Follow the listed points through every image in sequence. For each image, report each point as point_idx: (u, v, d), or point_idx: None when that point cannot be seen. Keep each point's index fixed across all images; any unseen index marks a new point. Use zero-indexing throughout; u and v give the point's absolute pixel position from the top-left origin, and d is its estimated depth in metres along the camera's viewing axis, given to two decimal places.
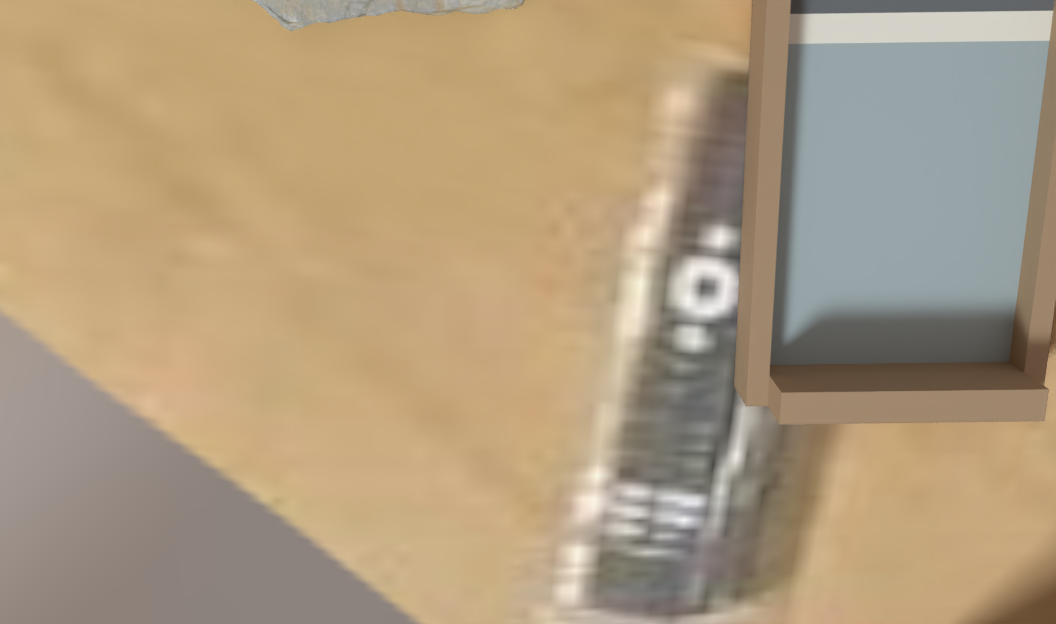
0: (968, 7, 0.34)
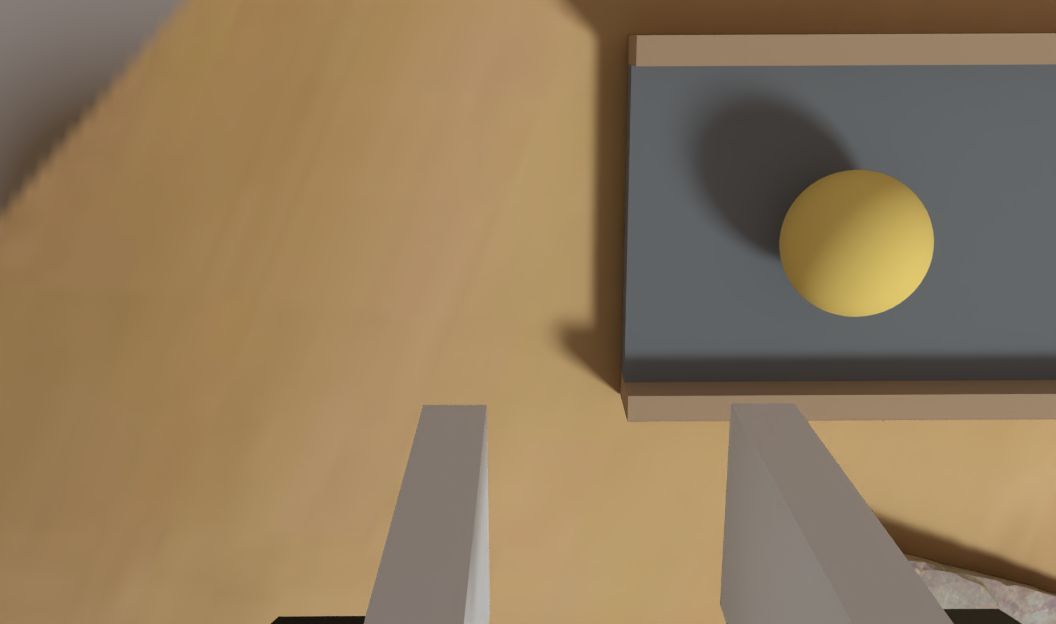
0: None
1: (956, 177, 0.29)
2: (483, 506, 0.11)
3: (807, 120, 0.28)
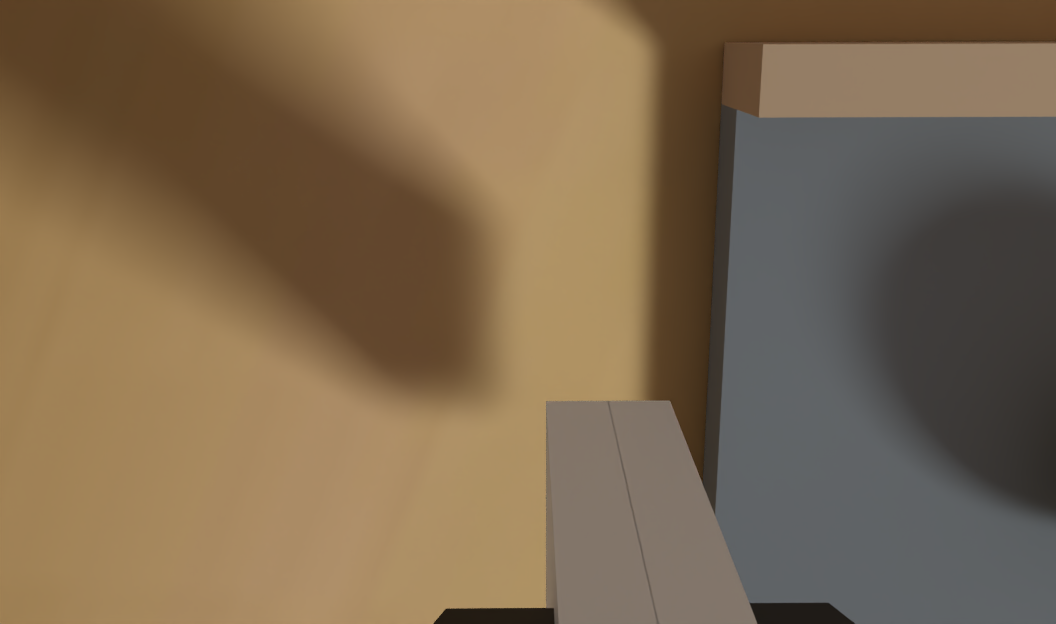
0: None
1: None
2: None
3: None
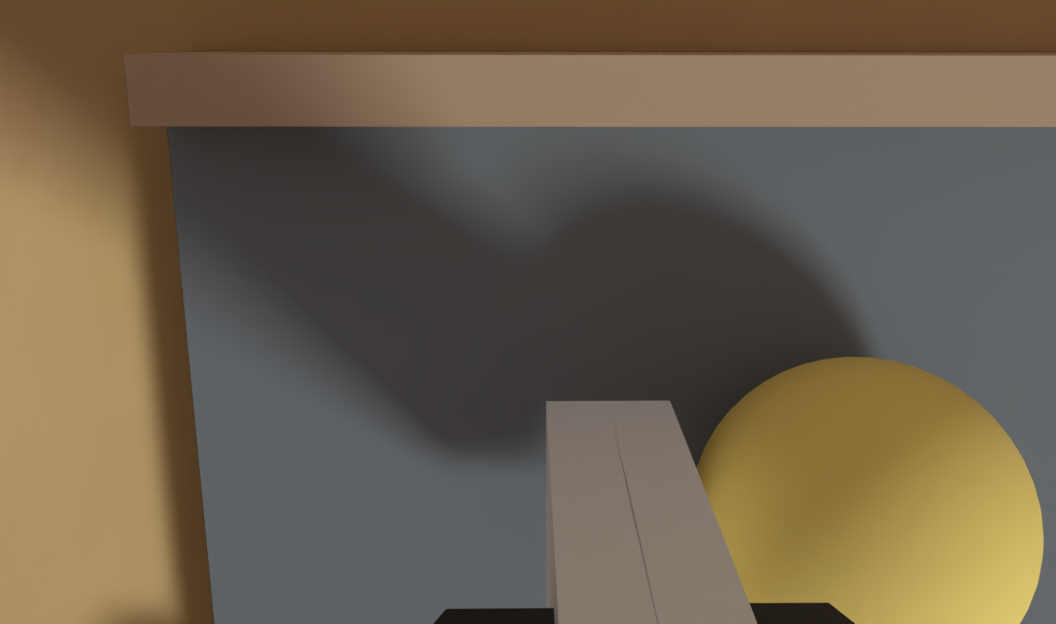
0: None
1: (884, 356, 0.14)
2: None
3: (561, 238, 0.13)
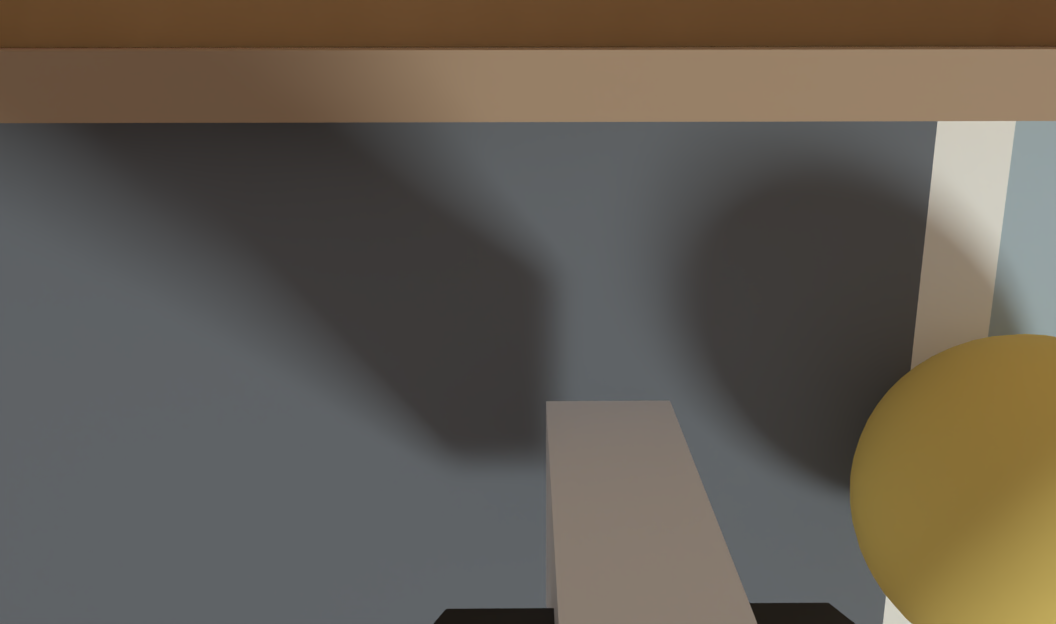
0: (903, 334, 0.13)
1: (280, 355, 0.13)
2: None
3: None
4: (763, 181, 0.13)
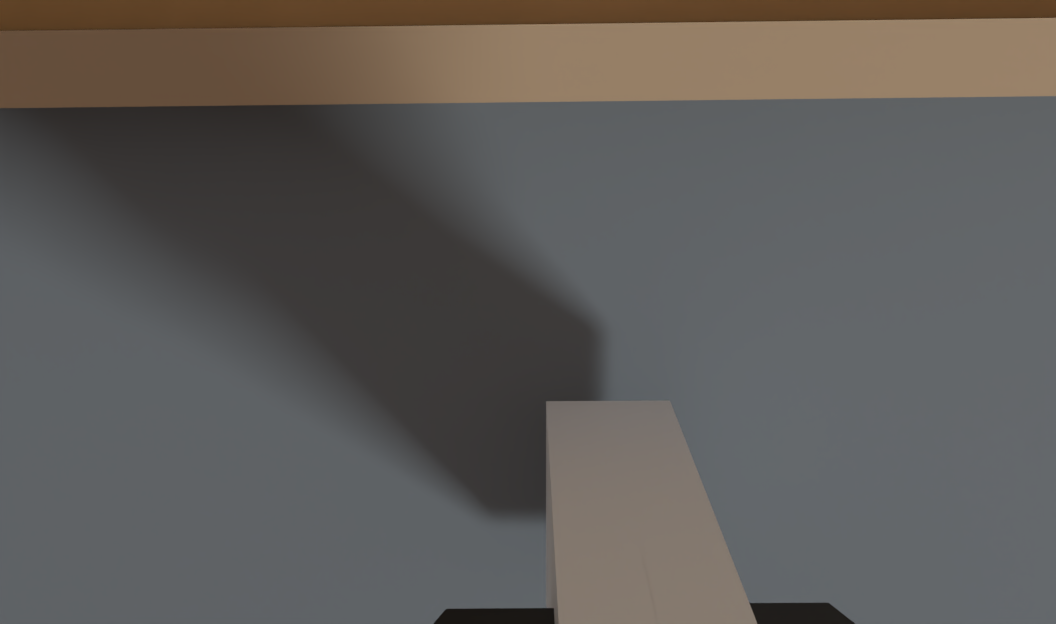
0: None
1: (438, 351, 0.13)
2: None
3: (76, 228, 0.12)
4: (959, 162, 0.12)
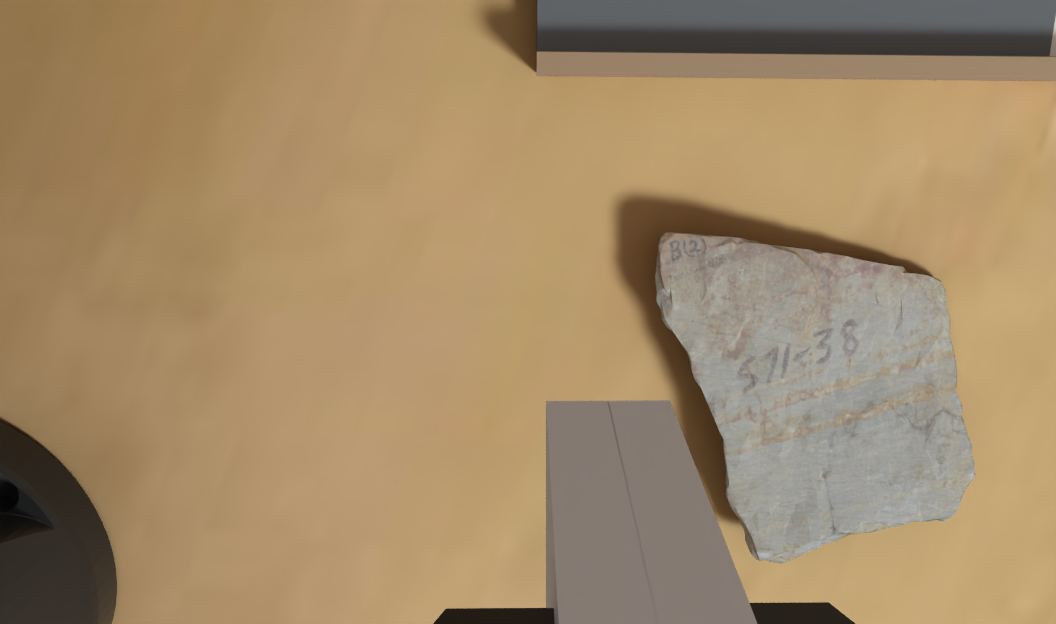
0: None
1: None
2: None
3: None
4: None
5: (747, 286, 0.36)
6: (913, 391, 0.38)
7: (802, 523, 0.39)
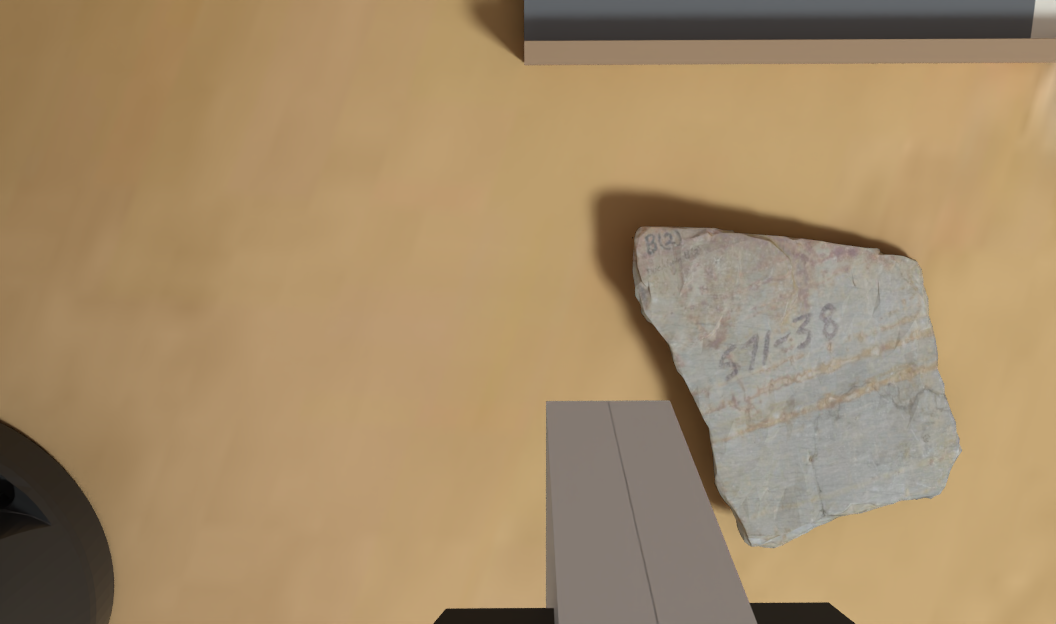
0: None
1: None
2: None
3: None
4: None
5: (724, 276, 0.37)
6: (895, 371, 0.39)
7: (792, 507, 0.39)
